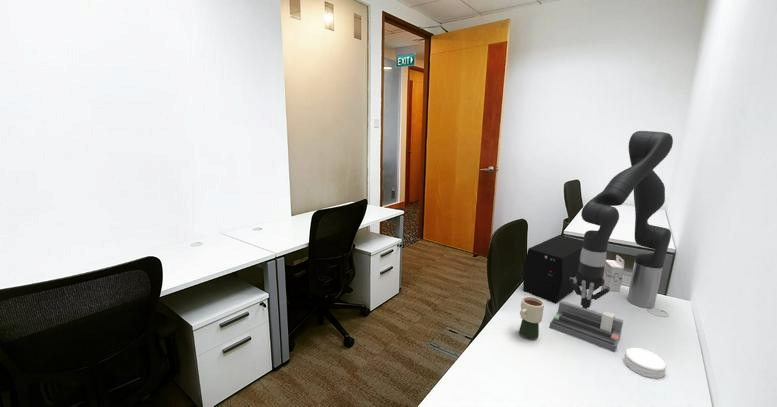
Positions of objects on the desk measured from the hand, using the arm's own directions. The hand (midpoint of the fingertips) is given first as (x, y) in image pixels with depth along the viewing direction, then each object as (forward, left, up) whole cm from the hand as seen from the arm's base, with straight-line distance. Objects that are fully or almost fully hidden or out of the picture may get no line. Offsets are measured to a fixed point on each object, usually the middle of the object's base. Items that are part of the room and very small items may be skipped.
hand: (584, 307), depth 118 cm
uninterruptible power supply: (-30, -17, -9) cm, 36 cm away
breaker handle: (0, +7, -7) cm, 10 cm away
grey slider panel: (0, +1, -9) cm, 9 cm away
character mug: (+16, -13, -9) cm, 23 cm away
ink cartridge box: (-48, +2, -9) cm, 49 cm away
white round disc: (+8, +19, -9) cm, 22 cm away
